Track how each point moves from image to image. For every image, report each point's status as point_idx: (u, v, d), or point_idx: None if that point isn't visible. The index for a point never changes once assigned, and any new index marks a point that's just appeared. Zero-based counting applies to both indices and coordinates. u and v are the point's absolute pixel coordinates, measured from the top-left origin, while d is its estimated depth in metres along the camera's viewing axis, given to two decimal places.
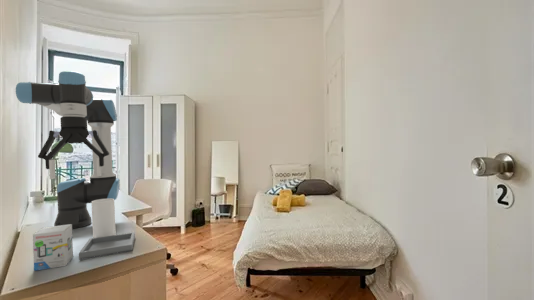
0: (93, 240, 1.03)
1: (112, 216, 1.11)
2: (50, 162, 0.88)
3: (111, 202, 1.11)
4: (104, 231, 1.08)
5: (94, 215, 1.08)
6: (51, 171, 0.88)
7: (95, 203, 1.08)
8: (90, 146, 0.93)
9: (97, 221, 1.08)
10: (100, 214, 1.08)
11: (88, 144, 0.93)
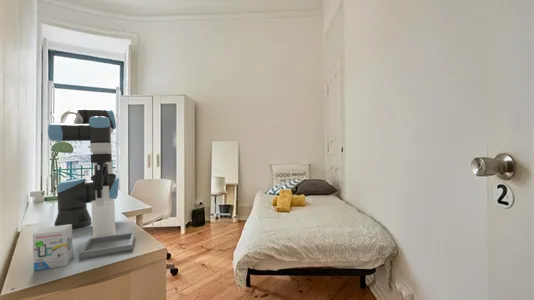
0: (93, 240, 1.03)
1: (112, 216, 1.11)
2: None
3: (111, 202, 1.11)
4: (104, 231, 1.08)
5: (94, 215, 1.08)
6: None
7: (95, 203, 1.08)
8: None
9: (97, 221, 1.08)
10: (100, 214, 1.08)
11: None
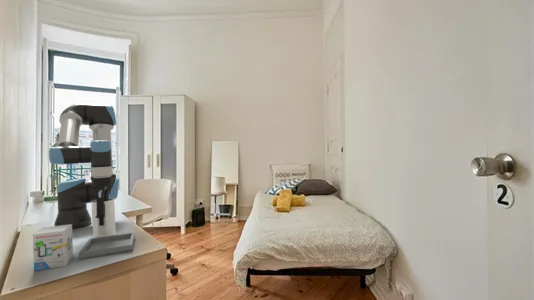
0: (93, 240, 1.03)
1: (112, 216, 1.11)
2: None
3: (111, 202, 1.11)
4: None
5: (94, 215, 1.08)
6: None
7: (95, 203, 1.08)
8: None
9: (97, 221, 1.08)
10: None
11: None
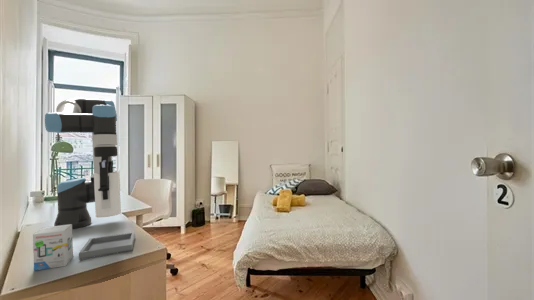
0: (93, 240, 1.03)
1: (117, 190, 0.99)
2: None
3: (116, 174, 0.98)
4: None
5: (97, 188, 0.95)
6: None
7: (98, 174, 0.95)
8: None
9: (100, 195, 0.95)
10: None
11: None
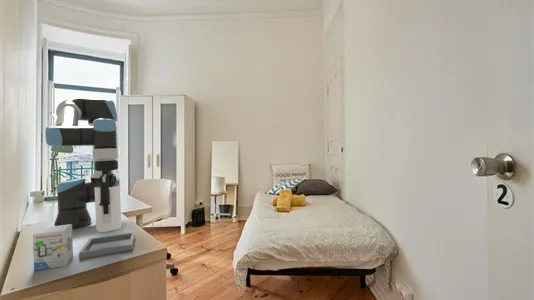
0: (93, 240, 1.03)
1: (118, 204, 0.99)
2: None
3: (116, 188, 0.99)
4: None
5: (97, 202, 0.95)
6: None
7: (99, 189, 0.95)
8: None
9: (101, 209, 0.95)
10: None
11: None
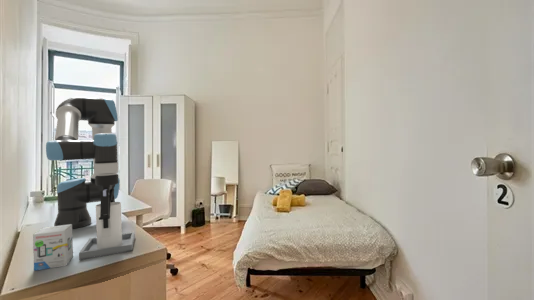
0: (93, 240, 1.03)
1: (119, 222, 0.99)
2: None
3: (118, 206, 0.99)
4: (110, 239, 0.96)
5: (99, 221, 0.96)
6: None
7: (100, 207, 0.95)
8: None
9: None
10: None
11: None
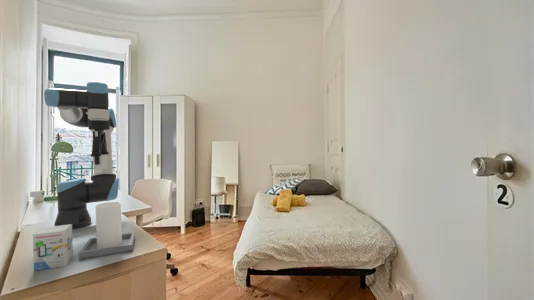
0: (93, 240, 1.03)
1: (118, 222, 0.99)
2: None
3: (117, 206, 0.99)
4: (110, 239, 0.96)
5: (98, 221, 0.96)
6: None
7: (100, 207, 0.95)
8: None
9: (102, 228, 0.96)
10: (105, 220, 0.96)
11: None
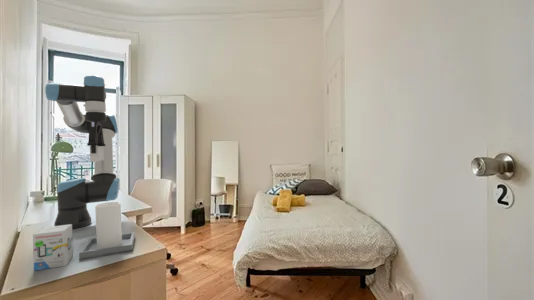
0: (93, 240, 1.03)
1: (118, 222, 0.99)
2: None
3: (117, 206, 0.99)
4: (109, 239, 0.96)
5: (98, 221, 0.96)
6: None
7: (99, 207, 0.95)
8: None
9: (102, 228, 0.95)
10: (105, 220, 0.96)
11: None
